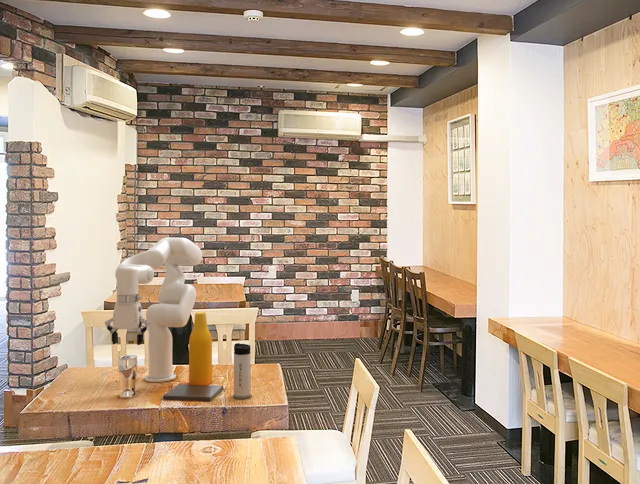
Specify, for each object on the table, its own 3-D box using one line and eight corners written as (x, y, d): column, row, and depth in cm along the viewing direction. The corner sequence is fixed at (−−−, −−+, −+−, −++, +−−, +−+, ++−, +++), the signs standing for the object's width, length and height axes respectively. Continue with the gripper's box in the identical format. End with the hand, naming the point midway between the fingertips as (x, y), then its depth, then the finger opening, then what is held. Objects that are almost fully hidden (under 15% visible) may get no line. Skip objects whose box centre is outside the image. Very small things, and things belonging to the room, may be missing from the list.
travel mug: (242, 393, 248) (242, 342, 247) (253, 396, 244) (254, 344, 243) (229, 396, 243) (229, 344, 242) (241, 400, 239) (241, 346, 238)
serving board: (179, 388, 254) (179, 384, 254) (223, 389, 253) (223, 385, 253) (163, 399, 238) (163, 395, 238) (210, 401, 237) (210, 397, 237)
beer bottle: (185, 382, 262) (185, 312, 262) (205, 379, 268) (206, 310, 267) (194, 387, 255) (194, 315, 254) (216, 383, 261) (216, 313, 260)
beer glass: (131, 399, 238) (131, 359, 238) (114, 398, 240) (114, 358, 239) (141, 394, 245) (141, 355, 245) (125, 393, 247) (124, 354, 246)
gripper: (153, 298, 244) (153, 342, 245) (110, 297, 246) (110, 341, 246) (145, 300, 237) (145, 346, 237) (100, 299, 238) (100, 345, 239)
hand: (127, 344), depth 242 cm, fingers open, 9 cm apart
